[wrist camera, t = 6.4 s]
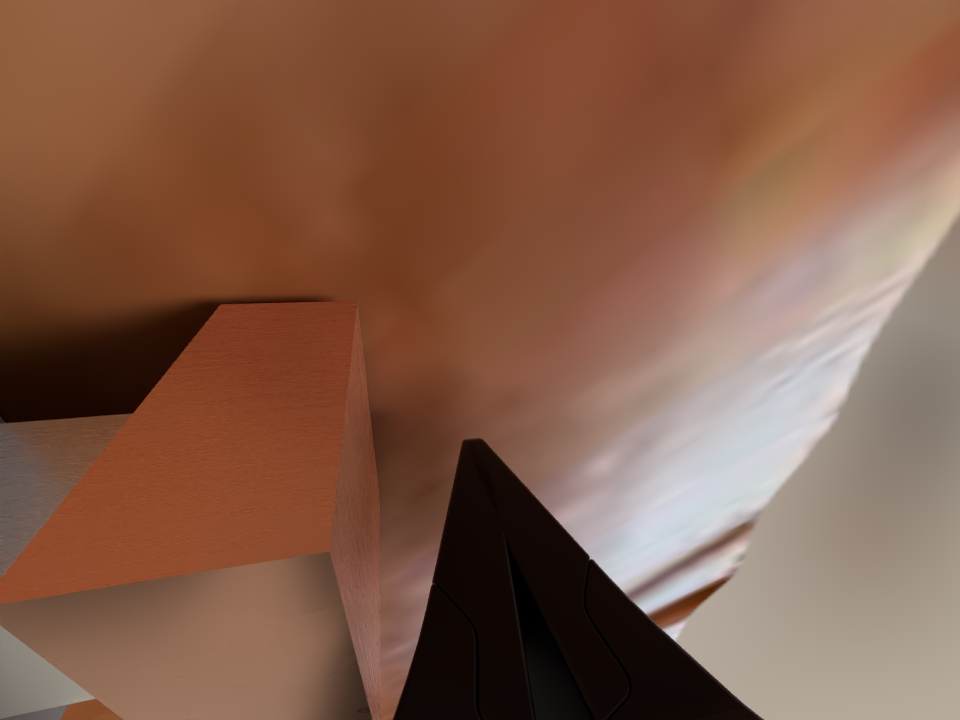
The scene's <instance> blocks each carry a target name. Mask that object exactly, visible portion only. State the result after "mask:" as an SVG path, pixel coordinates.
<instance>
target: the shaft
mask: <svg viewBox="0 0 960 720" xmlns="http://www.w3.org/2000/svg"><path fill="white" fill-rule="evenodd" d="M92 699H97V700H99V701H100V702H101V703H102V704H104V705H105V706H106V707H108V708H109V709H110V710H112V711H113V712H114V713H116V714H117V715H118V716H119V717H121V718H122V719H123V720H380V495H379V486H378V477H377V468H376V459H375V451H374V442H373V433H372V424H371V416H370V407H369V398H368V389H367V381H366V372H365V363H364V354H363V346H362V337H361V328H360V319H359V310H358V302H357V301H334V302H296V303H258V304H220V306H219V307H218V308H217V309H216V311H215V312H214V313H213V314H212V316H211V317H210V318H209V319H208V321H207V322H206V323H205V324H204V326H203V327H202V328H201V329H200V331H199V332H198V333H197V334H196V336H195V337H194V338H193V339H192V341H191V342H190V343H189V344H188V346H187V347H186V348H185V349H184V351H183V352H182V353H181V354H180V356H179V357H178V358H177V359H176V361H175V362H174V363H173V364H172V366H171V367H170V368H169V369H168V371H167V372H166V373H165V374H164V376H163V377H162V378H161V379H160V381H159V382H158V383H157V384H156V386H155V387H154V388H153V389H152V391H151V392H150V393H149V394H148V396H147V397H146V398H145V399H144V401H143V402H142V403H141V404H140V406H139V407H138V408H137V409H136V411H135V412H134V413H133V414H120V415H107V416H94V417H81V418H68V419H56V420H43V421H30V422H17V423H4V424H0V719H2V718H7V717H12V716H16V715H21V714H26V713H30V712H35V711H40V710H44V709H49V708H54V707H59V706H63V705H68V704H73V703H77V702H82V701H87V700H92Z"/></svg>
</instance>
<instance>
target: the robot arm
mask: <svg viewBox="0 0 960 720" xmlns="http://www.w3.org/2000/svg"><path fill="white" fill-rule="evenodd" d="M393 720H764V719H762V718H761V717H760V716H758V715H757V714H755V712H753V711H752V710H751V709H750V708H748V707H747V706H746V705H744V704H743V703H742V702H741V701H740V700H739V699H738V698H737V697H735V696H734V695H733V694H732V693H731V692H730V691H729V690H728V689H727V688H725V687H724V686H723V685H722V684H721V683H720V682H719V681H718V680H717V679H716V678H714V677H713V676H712V675H711V674H710V673H709V672H708V671H707V670H706V669H705V668H704V667H702V666H701V665H700V664H699V663H698V662H697V661H696V660H695V659H694V658H693V657H692V656H691V655H689V654H688V653H687V652H686V651H685V650H684V649H683V648H682V647H681V646H680V645H678V644H677V643H676V642H675V641H674V640H673V639H672V638H671V637H670V636H669V635H668V634H666V633H665V632H664V631H663V630H662V629H661V628H660V627H659V626H658V625H657V624H656V623H655V622H654V621H653V620H651V619H650V618H649V617H648V616H647V615H646V614H645V613H644V612H643V611H642V610H641V609H640V608H639V607H638V606H637V605H636V604H635V603H634V602H633V601H632V600H631V599H630V598H629V597H628V596H627V595H626V594H625V593H624V592H623V591H622V590H621V589H620V588H619V587H618V586H617V585H616V584H615V583H614V582H613V581H612V580H611V579H610V578H609V576H608V575H607V574H606V573H605V572H604V571H603V570H602V569H601V568H600V567H599V566H598V564H597V563H596V562H595V561H594V560H593V559H590V556H589V555H588V554H587V553H586V552H585V550H584V549H583V548H582V547H581V546H580V545H579V544H578V543H577V542H576V541H575V540H574V538H573V537H572V536H571V535H570V534H569V533H568V532H567V531H566V530H565V529H564V528H563V526H562V525H561V524H560V523H559V522H558V521H557V520H556V519H555V518H554V517H553V515H552V514H551V513H550V512H549V511H548V510H547V509H546V508H545V507H544V506H543V505H542V503H541V502H540V501H539V500H538V499H537V498H536V497H535V496H534V495H533V494H532V493H531V491H530V490H529V489H528V488H527V487H526V486H525V485H524V484H523V483H522V482H521V481H520V479H519V478H518V477H517V476H516V475H515V474H514V473H513V472H512V471H511V470H510V469H509V467H508V466H507V465H506V464H505V463H504V462H503V461H502V460H501V459H500V458H499V456H498V455H497V454H496V453H495V452H494V451H493V450H492V449H491V448H490V447H489V446H488V444H487V443H486V442H485V441H484V440H483V439H481V438H476V439H465V440H463V442H462V446H461V450H460V455H459V460H458V464H457V469H456V474H455V478H454V483H453V488H452V492H451V497H450V502H449V506H448V511H447V516H446V520H445V525H444V530H443V534H442V539H441V544H440V548H439V553H438V558H437V562H436V567H435V572H434V576H433V581H432V586H431V589H430V594H429V599H428V603H427V608H426V612H425V616H424V620H423V624H422V628H421V632H420V636H419V640H418V644H417V647H416V650H415V653H414V657H413V660H412V663H411V666H410V669H409V673H408V676H407V679H406V682H405V685H404V688H403V691H402V694H401V697H400V700H399V703H398V706H397V709H396V711H395V714H394V717H393Z"/></svg>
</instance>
